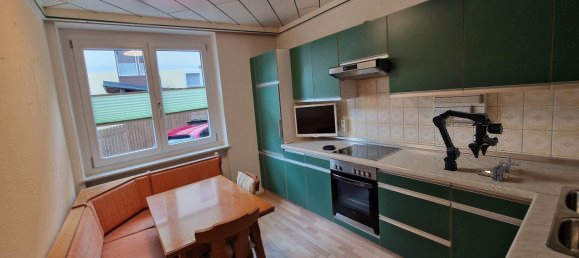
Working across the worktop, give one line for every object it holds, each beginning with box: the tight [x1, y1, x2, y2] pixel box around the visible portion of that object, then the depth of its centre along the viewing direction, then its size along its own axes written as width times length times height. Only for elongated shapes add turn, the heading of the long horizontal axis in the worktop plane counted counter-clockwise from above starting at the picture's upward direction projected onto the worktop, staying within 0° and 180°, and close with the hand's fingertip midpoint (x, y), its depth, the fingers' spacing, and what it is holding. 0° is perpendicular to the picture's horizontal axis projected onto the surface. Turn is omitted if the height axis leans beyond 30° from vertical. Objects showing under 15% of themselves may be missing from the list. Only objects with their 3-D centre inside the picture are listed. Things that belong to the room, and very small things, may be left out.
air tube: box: [475, 167, 511, 181], centre depth 158 cm, size 16×4×4 cm, turn 31°
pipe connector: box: [498, 155, 521, 172], centre depth 164 cm, size 10×10×10 cm
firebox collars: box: [491, 163, 510, 183], centre depth 153 cm, size 4×11×8 cm, turn 121°
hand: (480, 156), depth 162 cm, fingers open, 9 cm apart
